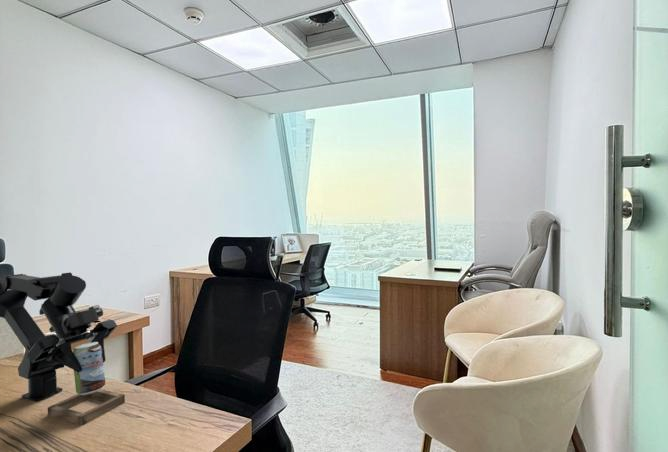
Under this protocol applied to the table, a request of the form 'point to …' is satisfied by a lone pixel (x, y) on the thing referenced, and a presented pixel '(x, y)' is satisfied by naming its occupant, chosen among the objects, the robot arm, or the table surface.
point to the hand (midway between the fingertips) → (92, 366)
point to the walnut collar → (80, 418)
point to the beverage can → (89, 368)
